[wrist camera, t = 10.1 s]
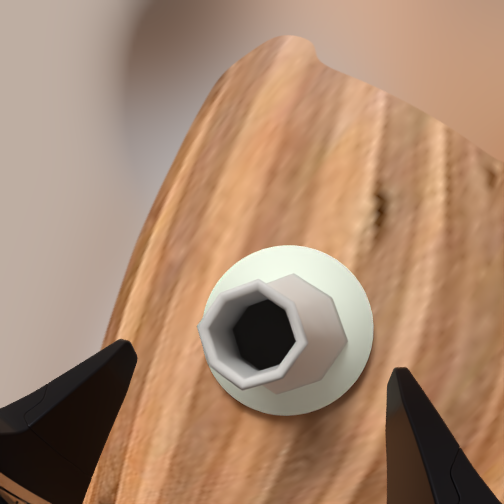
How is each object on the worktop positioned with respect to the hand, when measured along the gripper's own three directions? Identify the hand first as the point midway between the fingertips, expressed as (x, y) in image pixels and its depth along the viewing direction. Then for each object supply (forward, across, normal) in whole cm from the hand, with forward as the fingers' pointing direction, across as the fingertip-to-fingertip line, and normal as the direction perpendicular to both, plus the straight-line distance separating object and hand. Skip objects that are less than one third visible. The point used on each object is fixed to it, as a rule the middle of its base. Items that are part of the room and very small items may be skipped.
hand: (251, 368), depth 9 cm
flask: (+8, 0, +6) cm, 9 cm away
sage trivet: (+8, 0, +6) cm, 10 cm away
